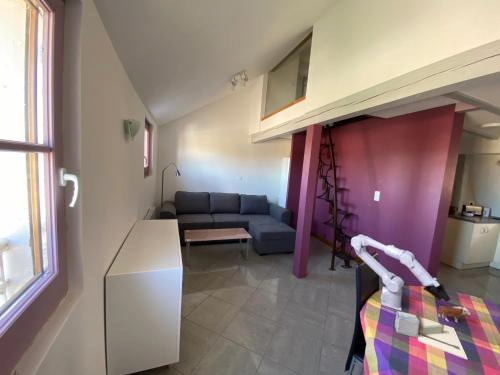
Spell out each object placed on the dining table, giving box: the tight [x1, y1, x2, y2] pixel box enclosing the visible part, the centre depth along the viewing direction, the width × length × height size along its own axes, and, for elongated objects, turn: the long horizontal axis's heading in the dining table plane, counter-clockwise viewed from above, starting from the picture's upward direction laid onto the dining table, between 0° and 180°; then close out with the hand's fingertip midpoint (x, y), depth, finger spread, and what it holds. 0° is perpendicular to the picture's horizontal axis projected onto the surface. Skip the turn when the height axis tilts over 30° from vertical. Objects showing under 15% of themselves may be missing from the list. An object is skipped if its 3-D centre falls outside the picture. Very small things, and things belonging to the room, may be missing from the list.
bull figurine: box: [437, 305, 471, 324], centre depth 109 cm, size 4×13×8 cm, turn 78°
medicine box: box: [394, 310, 419, 339], centre depth 100 cm, size 8×4×9 cm, turn 71°
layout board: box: [417, 316, 468, 360], centre depth 99 cm, size 16×20×1 cm
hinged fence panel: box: [418, 323, 445, 335], centre depth 99 cm, size 13×2×4 cm, turn 98°
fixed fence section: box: [414, 310, 421, 325], centre depth 104 cm, size 1×12×4 cm, turn 148°
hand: (444, 299), depth 103 cm, fingers open, 7 cm apart
